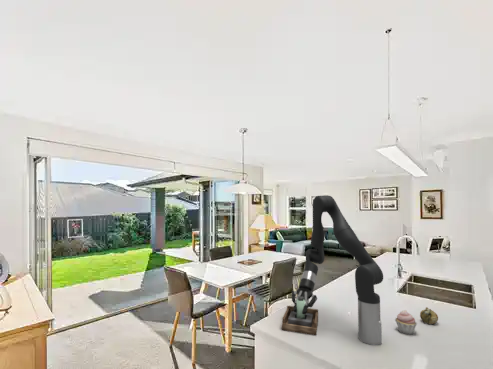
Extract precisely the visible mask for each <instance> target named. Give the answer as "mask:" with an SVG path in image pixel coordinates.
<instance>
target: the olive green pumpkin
mask: <svg viewBox="0 0 493 369" xmlns="http://www.w3.org/2000/svg"><path fill="white" fill-rule="evenodd" d="M419 317H420V319H421V320H422V322H424V323H426V324H428V325H435V324H436V323H437V322H438V321H439V316H438V314H437V313H436V312H435V311H434V310H432V309H431V308H428V307H425V309H423V310H421V311H420V312H419Z"/></svg>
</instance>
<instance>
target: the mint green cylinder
mask: <svg viewBox="0 0 493 369" xmlns="http://www.w3.org/2000/svg"><path fill="white" fill-rule="evenodd" d="M297 296H298V295H297ZM296 299H297V298H296ZM304 305H305V300H304V299H303V296H298V299H297V318H299V319H305V315H304V314H303V313H302V311H303V308H304Z"/></svg>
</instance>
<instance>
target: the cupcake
mask: <svg viewBox="0 0 493 369" xmlns="http://www.w3.org/2000/svg"><path fill="white" fill-rule="evenodd" d="M394 321H395V322H396V325H397V329H398V331H399V332H400V333H403V334H405V335H413V334H414V333H415V330H416V326H417V325H418V322H417V321H416V319H415V317H413V315H412V314H411V313H409V312H408V311H407V310H406V309H404V310H402V311H400V312H399V313H398V314H397V315H396V317H395V319H394Z"/></svg>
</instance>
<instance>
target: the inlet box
mask: <svg viewBox="0 0 493 369" xmlns="http://www.w3.org/2000/svg"><path fill="white" fill-rule="evenodd" d="M293 308H294V305H286V309H285V312H284V314H283V316H282V319H281V320H282V323H281V331H285V332H286V331H287V332H291V333H296V334H298V333H299V334H305V335H310V336H317V334H318V326H319V309H316V308H311V307H308V308H307V312H306V314H305V319H299V318H297V312H294V309H293Z"/></svg>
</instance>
